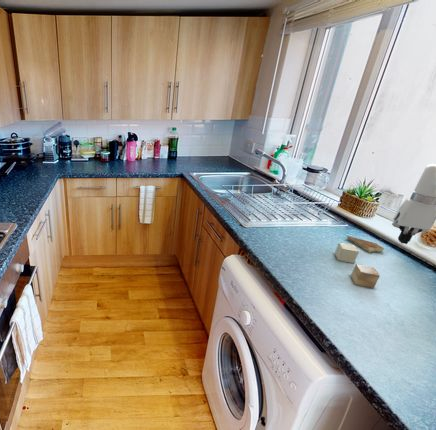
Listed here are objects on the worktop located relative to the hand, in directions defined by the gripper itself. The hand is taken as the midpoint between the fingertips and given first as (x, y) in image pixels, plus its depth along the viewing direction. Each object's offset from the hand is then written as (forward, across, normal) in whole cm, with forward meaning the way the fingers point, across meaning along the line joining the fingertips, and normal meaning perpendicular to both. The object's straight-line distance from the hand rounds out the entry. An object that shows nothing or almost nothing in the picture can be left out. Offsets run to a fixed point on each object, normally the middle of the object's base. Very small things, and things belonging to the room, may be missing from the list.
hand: (402, 242), depth 111 cm
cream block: (+5, +21, +14) cm, 26 cm away
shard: (+5, +11, +1) cm, 12 cm away
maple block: (+5, +20, +29) cm, 36 cm away
